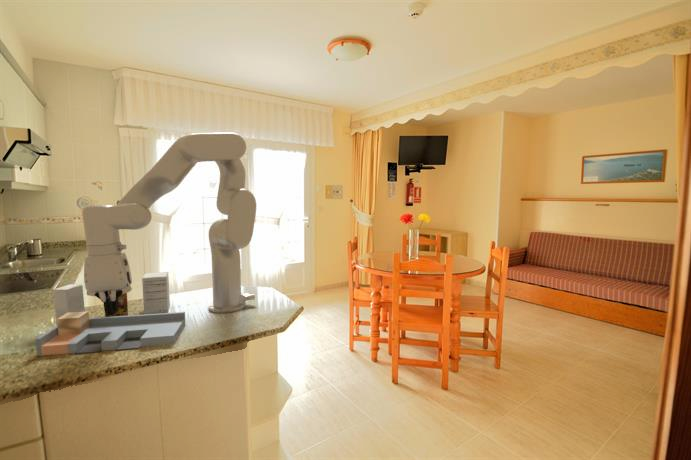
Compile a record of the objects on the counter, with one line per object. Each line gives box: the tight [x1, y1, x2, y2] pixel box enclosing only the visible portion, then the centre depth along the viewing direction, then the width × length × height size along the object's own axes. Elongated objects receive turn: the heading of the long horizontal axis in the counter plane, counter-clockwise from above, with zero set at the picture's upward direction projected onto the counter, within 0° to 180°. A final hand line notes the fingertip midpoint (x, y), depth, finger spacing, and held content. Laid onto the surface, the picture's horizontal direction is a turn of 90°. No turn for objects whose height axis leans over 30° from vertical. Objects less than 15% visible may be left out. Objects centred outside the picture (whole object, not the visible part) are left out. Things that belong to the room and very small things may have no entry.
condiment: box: [104, 291, 130, 317], centre depth 104 cm, size 7×8×12 cm
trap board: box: [35, 311, 186, 357], centre depth 91 cm, size 31×14×4 cm, turn 104°
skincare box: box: [52, 283, 85, 326], centre depth 100 cm, size 6×4×12 cm
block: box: [57, 310, 90, 335], centre depth 91 cm, size 5×5×4 cm
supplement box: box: [141, 271, 171, 315], centre depth 114 cm, size 7×7×13 cm
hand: (112, 313), depth 93 cm, fingers closed
